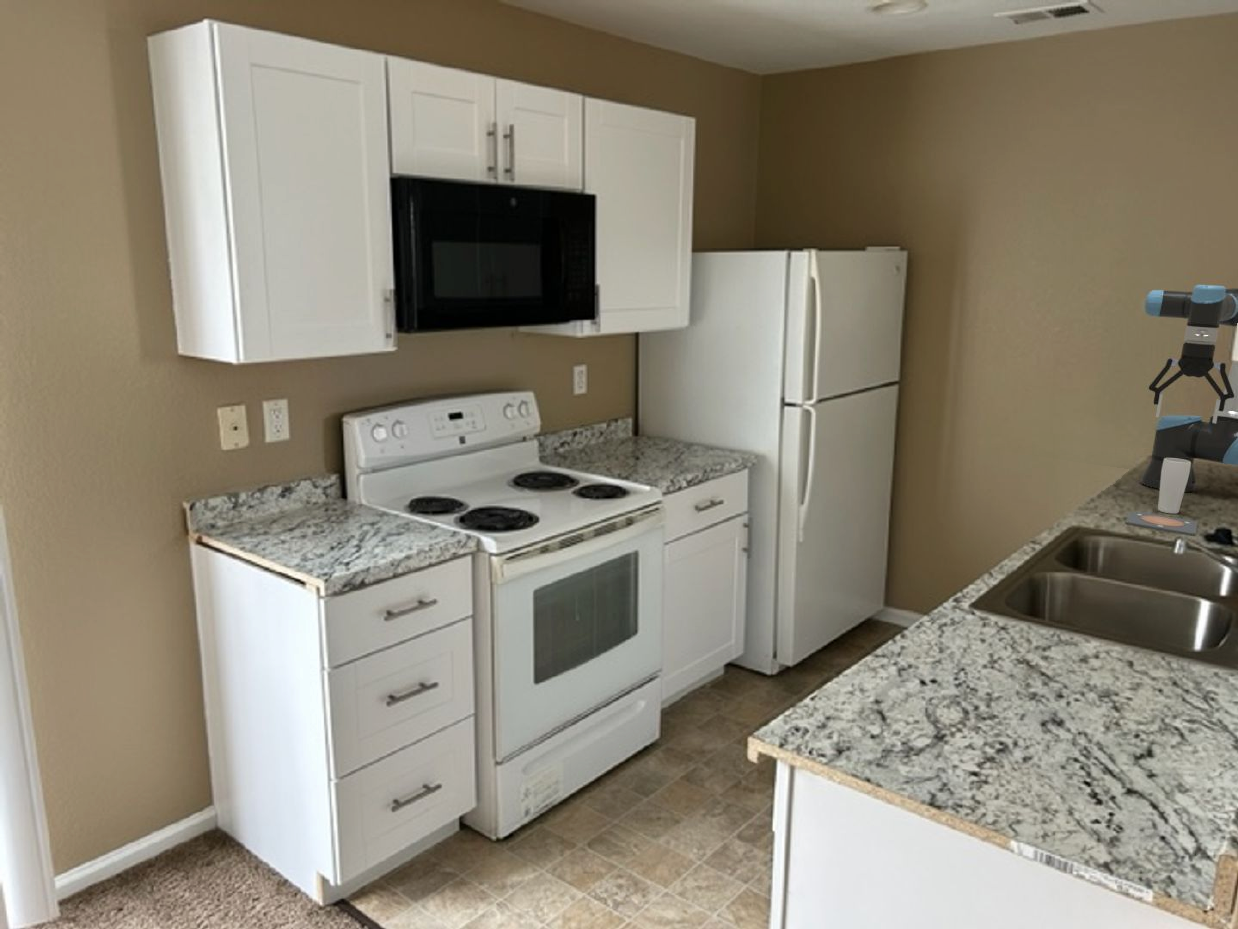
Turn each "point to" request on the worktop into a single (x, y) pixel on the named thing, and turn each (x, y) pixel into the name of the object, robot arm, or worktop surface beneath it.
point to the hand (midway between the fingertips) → (1185, 419)
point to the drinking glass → (1173, 484)
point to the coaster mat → (1162, 523)
